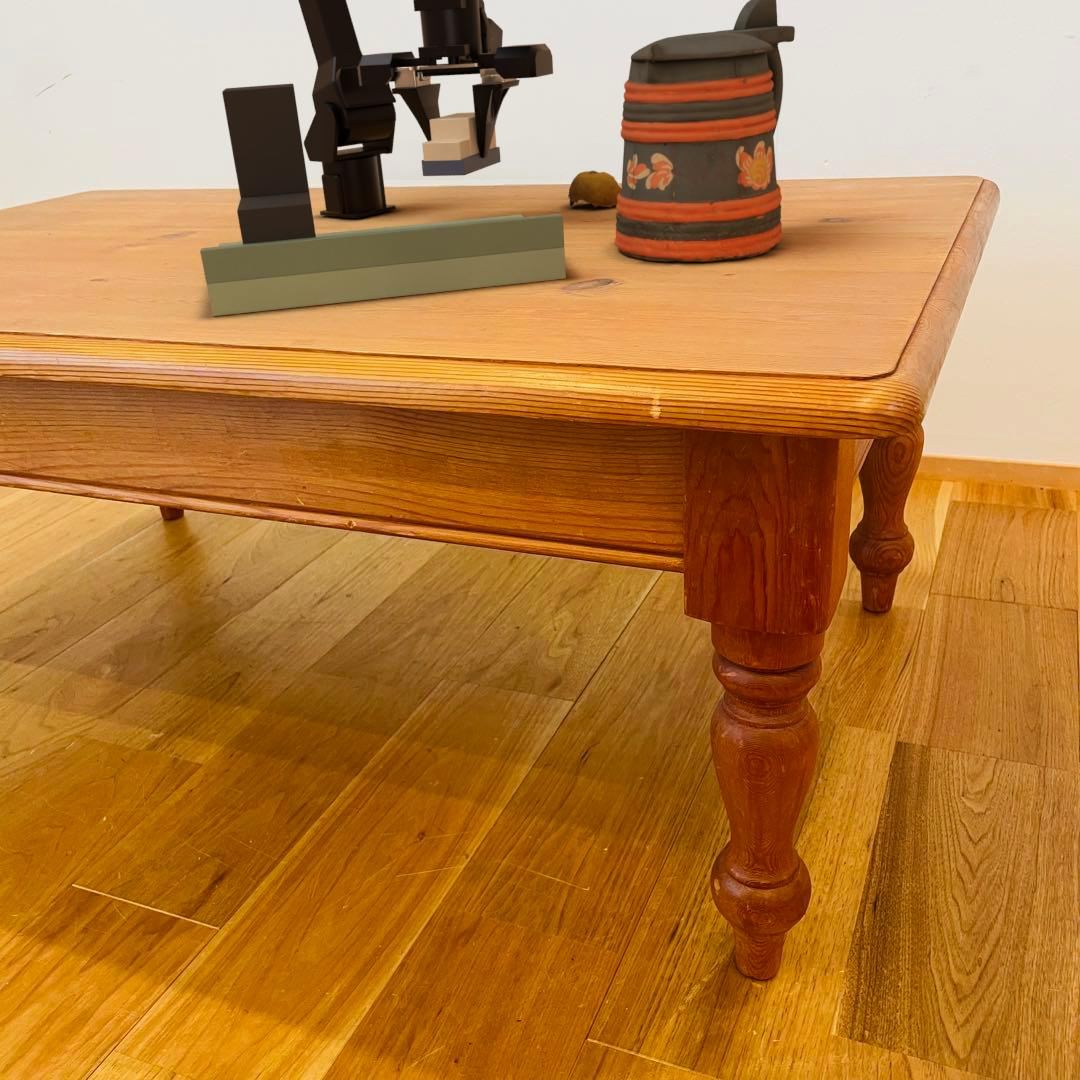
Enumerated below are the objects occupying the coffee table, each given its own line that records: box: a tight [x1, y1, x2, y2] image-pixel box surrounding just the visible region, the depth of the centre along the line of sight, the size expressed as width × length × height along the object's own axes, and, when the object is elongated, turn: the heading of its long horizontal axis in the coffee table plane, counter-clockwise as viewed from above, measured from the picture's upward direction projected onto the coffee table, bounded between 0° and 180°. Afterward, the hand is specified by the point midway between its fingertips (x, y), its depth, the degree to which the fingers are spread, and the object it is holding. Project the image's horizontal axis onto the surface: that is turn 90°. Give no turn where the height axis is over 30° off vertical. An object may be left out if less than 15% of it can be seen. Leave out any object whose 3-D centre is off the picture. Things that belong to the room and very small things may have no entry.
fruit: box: [567, 170, 622, 208], centre depth 119 cm, size 8×8×4 cm
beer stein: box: [614, 0, 796, 263], centre depth 93 cm, size 19×15×20 cm
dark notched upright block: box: [221, 83, 317, 244], centre depth 86 cm, size 12×6×13 cm, turn 12°
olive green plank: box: [199, 213, 567, 317], centre depth 92 cm, size 18×28×5 cm, turn 102°
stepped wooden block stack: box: [421, 111, 501, 177], centre depth 109 cm, size 10×4×5 cm, turn 161°
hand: (462, 158), depth 109 cm, fingers closed on stepped wooden block stack, 4 cm apart
